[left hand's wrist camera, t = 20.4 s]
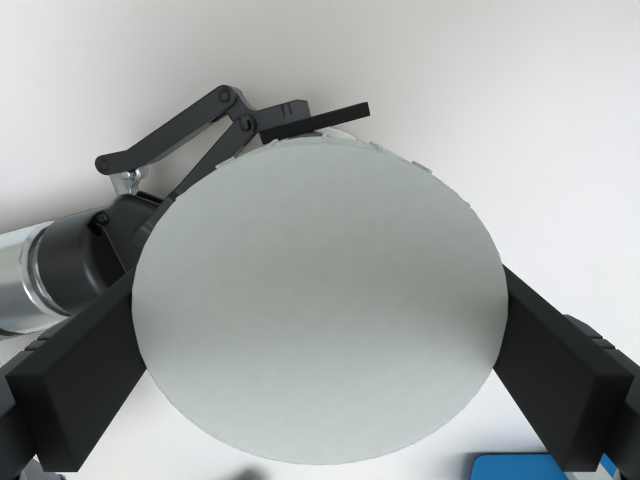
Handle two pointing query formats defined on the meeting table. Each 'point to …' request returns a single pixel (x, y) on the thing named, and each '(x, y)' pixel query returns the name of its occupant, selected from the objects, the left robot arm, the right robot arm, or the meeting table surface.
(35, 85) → the meeting table surface
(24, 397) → the left robot arm
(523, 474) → the logo
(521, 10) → the meeting table surface
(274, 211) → the lid
